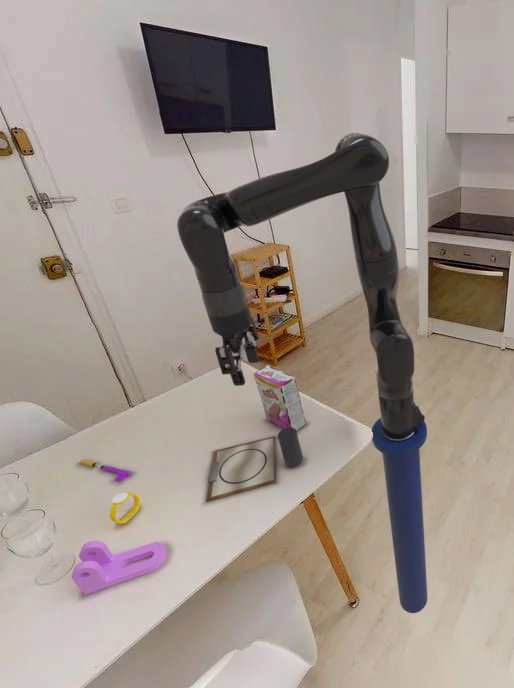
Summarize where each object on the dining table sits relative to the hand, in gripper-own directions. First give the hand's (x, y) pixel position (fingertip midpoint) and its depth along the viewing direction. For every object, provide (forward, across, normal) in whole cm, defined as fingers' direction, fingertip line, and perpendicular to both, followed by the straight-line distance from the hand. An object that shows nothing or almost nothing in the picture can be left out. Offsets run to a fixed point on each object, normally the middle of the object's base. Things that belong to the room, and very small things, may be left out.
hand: (247, 372), depth 89 cm
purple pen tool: (+27, -1, +42) cm, 50 cm away
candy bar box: (+27, +14, +1) cm, 30 cm away
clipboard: (+27, -2, +7) cm, 28 cm away
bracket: (+27, -26, +20) cm, 43 cm away
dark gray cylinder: (+27, -1, -5) cm, 27 cm away
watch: (+27, -14, +27) cm, 41 cm away
